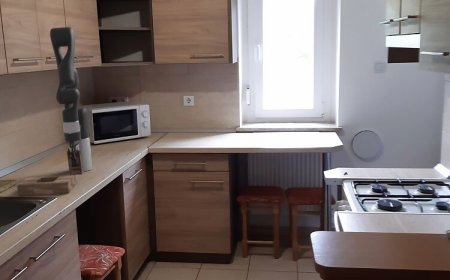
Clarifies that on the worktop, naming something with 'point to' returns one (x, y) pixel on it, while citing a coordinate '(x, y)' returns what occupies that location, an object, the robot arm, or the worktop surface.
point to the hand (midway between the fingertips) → (75, 165)
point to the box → (79, 168)
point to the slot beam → (46, 185)
